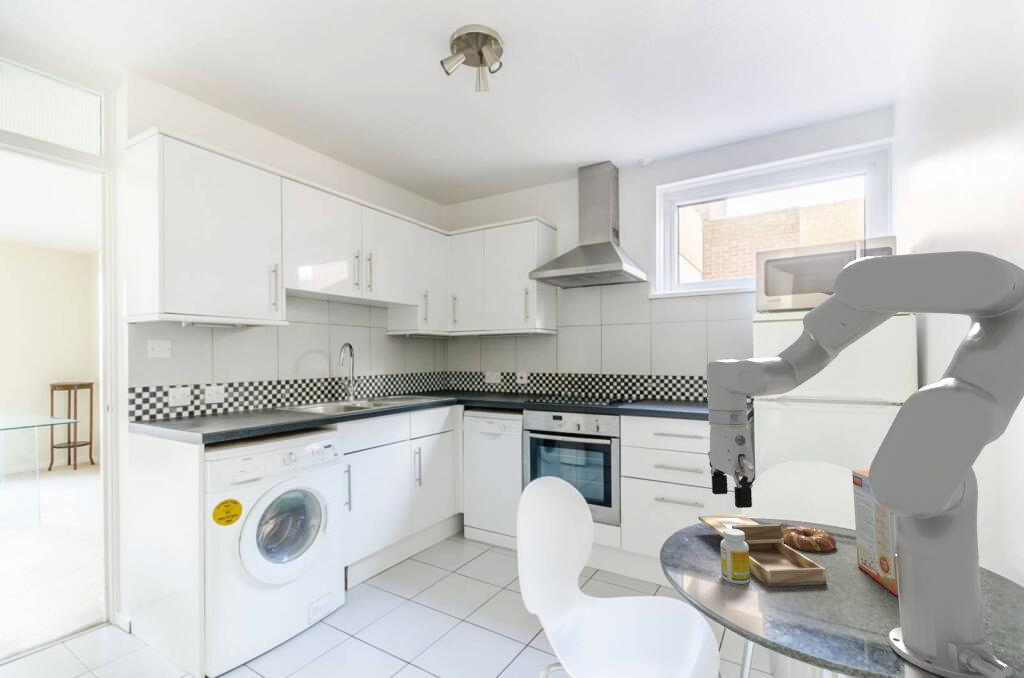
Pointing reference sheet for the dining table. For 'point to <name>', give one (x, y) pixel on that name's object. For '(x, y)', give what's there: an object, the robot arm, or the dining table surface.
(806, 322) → the robot arm
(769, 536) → the lid
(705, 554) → the dining table surface
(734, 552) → the supplement bottle
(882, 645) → the dining table surface
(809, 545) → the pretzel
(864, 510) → the cracker box
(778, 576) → the light wood shallow tray
